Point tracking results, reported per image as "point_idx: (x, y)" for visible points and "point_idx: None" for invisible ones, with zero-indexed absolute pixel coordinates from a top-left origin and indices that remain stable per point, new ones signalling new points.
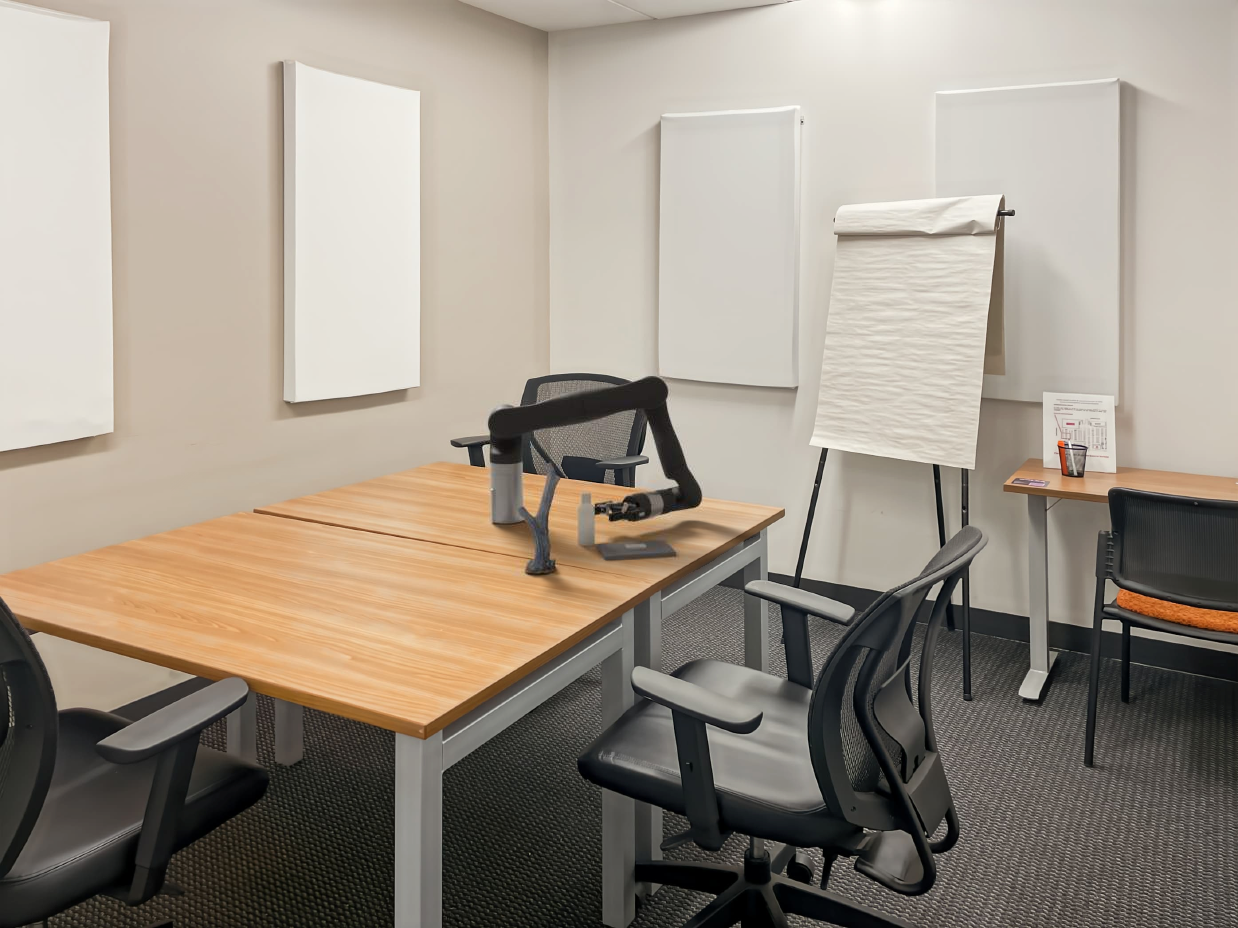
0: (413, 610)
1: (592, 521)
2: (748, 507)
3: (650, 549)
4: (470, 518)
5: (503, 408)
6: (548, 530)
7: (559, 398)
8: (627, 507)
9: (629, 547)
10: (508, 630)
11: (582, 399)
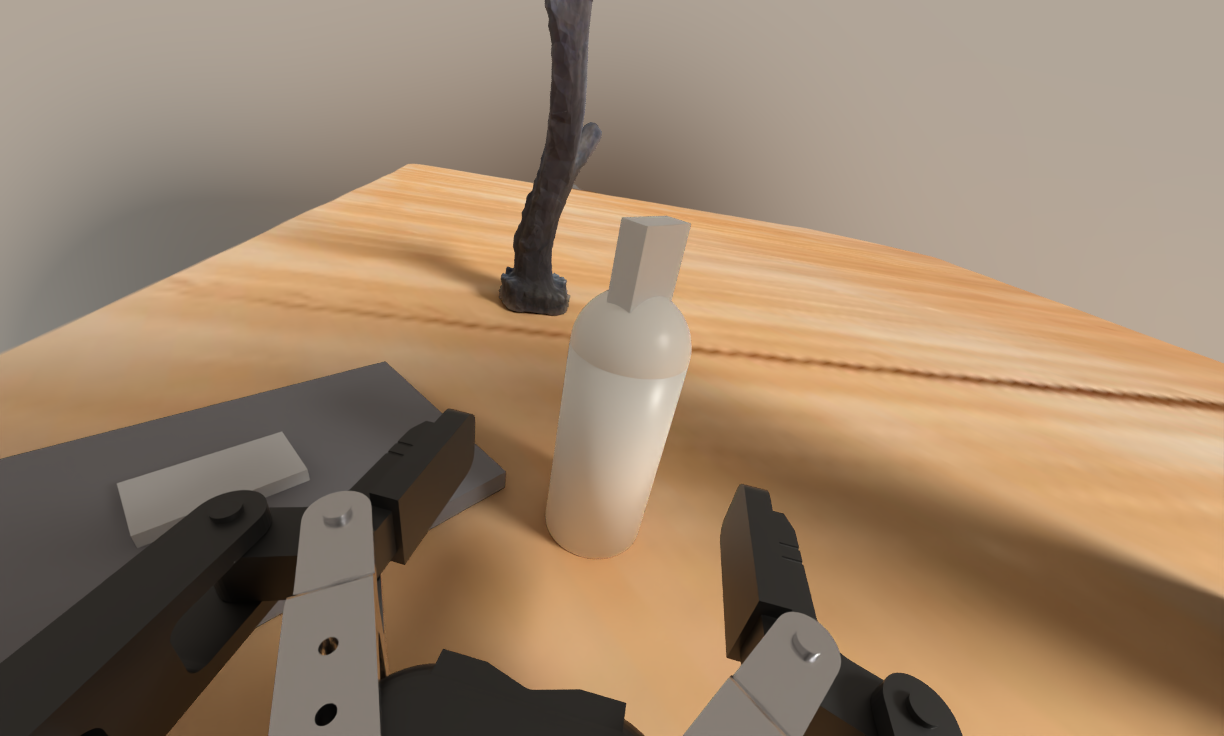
0: (580, 225)
1: (562, 395)
2: None
3: (87, 492)
4: None
5: None
6: (532, 199)
7: None
8: (279, 664)
9: (266, 437)
10: (431, 202)
11: None
